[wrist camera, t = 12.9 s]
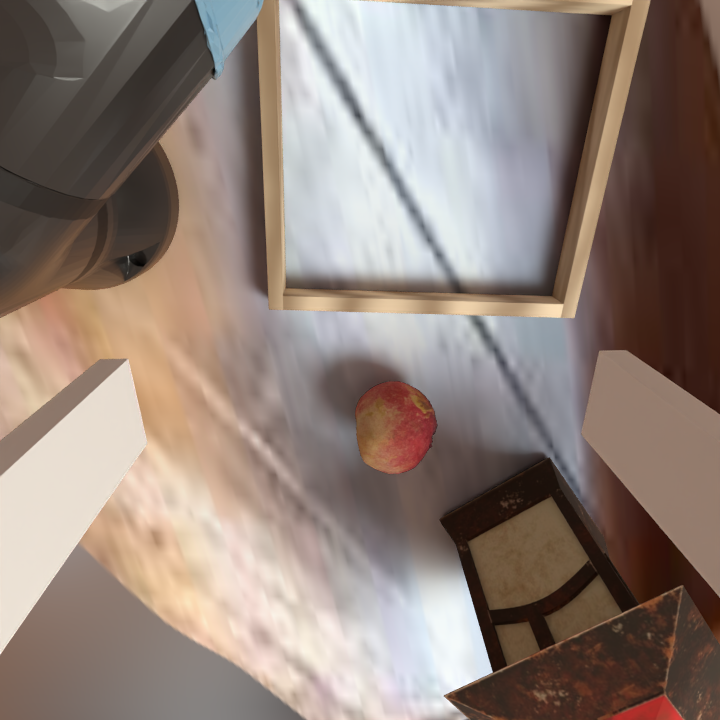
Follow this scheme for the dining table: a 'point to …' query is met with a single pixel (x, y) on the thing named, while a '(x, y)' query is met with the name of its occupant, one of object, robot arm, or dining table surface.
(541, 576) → the lantern
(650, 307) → the dining table surface
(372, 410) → the fruit
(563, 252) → the pine frame
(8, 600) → the robot arm
